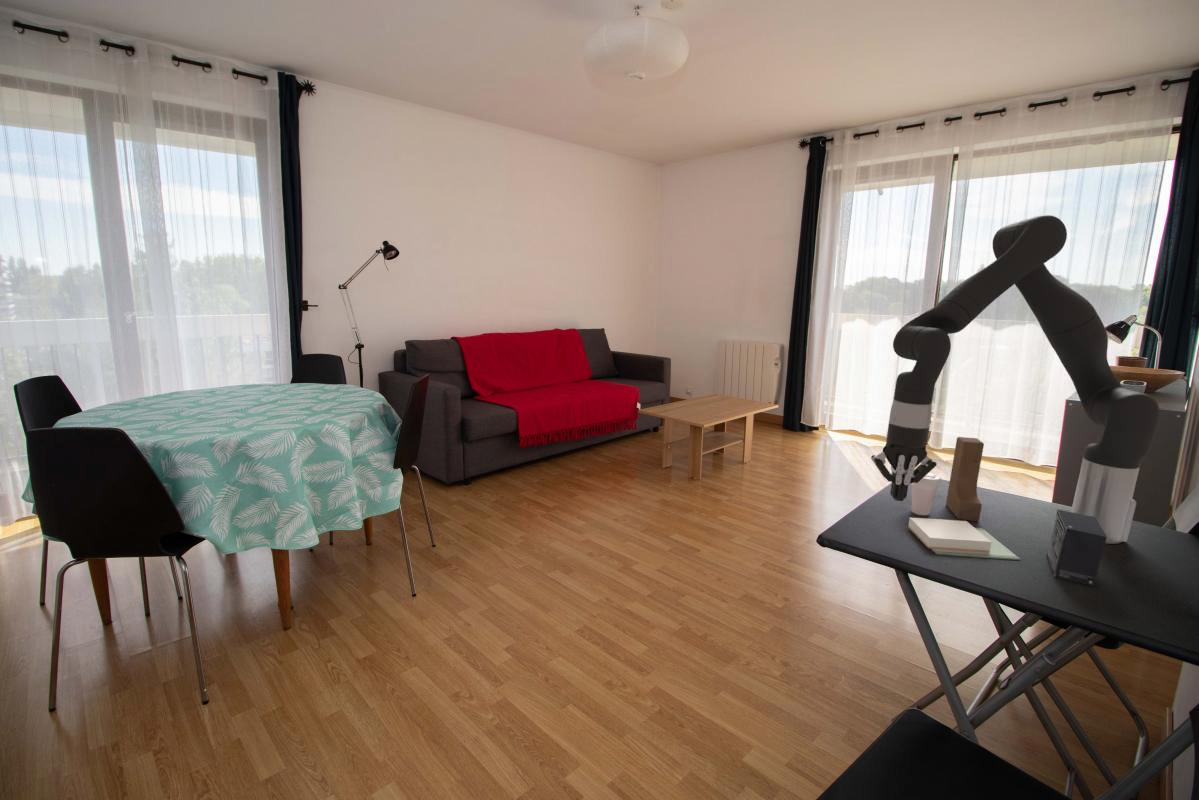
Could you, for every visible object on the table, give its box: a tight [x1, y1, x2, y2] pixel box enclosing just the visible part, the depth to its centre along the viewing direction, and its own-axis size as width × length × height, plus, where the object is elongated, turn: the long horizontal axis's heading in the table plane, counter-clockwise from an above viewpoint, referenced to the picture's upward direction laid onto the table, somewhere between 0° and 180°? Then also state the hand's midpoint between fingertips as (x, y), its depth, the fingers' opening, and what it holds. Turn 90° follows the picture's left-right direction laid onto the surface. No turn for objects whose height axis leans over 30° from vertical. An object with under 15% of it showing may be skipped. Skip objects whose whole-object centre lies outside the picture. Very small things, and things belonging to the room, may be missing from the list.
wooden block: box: [945, 436, 985, 522], centre depth 133 cm, size 9×4×18 cm, turn 166°
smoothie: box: [910, 471, 942, 516], centre depth 134 cm, size 6×6×14 cm
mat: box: [907, 523, 1021, 561], centre depth 121 cm, size 16×14×1 cm
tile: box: [907, 517, 991, 552], centre depth 121 cm, size 2×10×12 cm
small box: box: [1046, 509, 1107, 587], centre depth 108 cm, size 11×6×10 cm, turn 148°
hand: (897, 499), depth 120 cm, fingers closed
